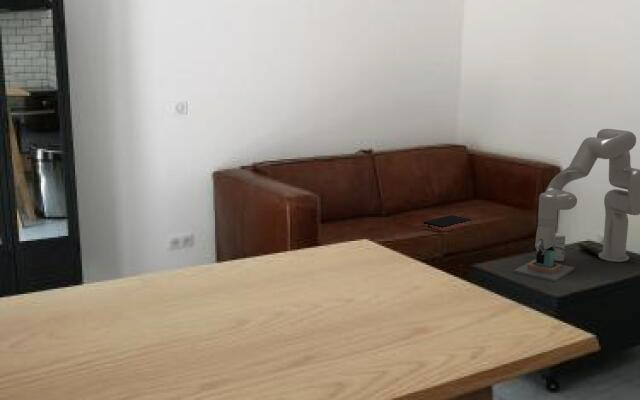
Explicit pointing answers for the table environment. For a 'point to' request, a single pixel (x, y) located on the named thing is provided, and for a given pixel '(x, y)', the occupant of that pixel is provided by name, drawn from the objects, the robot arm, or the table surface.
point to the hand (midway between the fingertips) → (544, 260)
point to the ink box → (559, 247)
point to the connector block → (547, 259)
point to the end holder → (544, 271)
